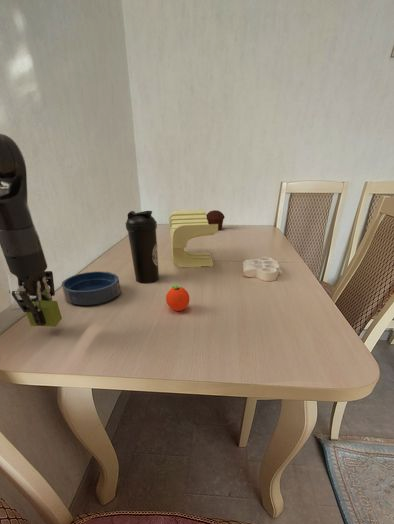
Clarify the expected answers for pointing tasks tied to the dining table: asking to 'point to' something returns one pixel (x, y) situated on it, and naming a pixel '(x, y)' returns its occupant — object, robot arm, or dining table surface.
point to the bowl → (91, 288)
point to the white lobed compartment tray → (262, 268)
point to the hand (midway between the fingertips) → (45, 319)
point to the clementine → (177, 298)
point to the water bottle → (143, 245)
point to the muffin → (215, 218)
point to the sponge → (47, 313)
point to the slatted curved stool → (189, 236)
